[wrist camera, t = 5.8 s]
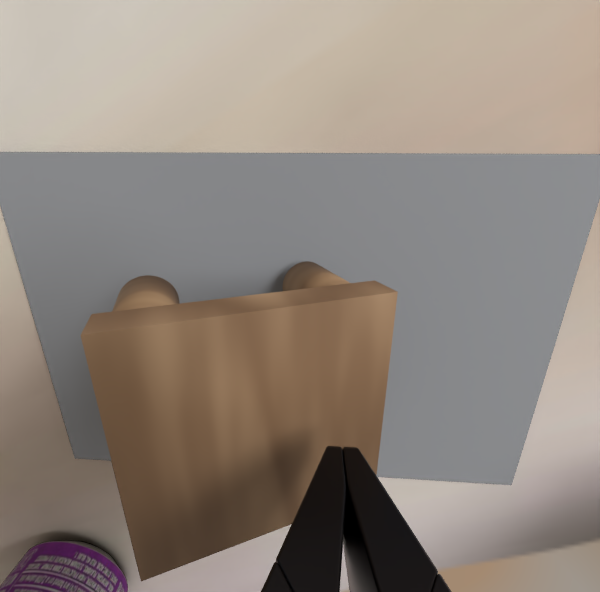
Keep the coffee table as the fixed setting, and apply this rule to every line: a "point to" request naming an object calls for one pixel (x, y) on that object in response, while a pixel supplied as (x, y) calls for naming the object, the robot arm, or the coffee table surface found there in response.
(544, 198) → the felt mat
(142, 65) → the coffee table surface
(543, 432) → the coffee table surface
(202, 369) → the stool
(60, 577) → the beverage can
